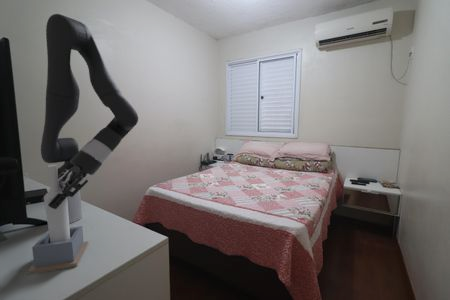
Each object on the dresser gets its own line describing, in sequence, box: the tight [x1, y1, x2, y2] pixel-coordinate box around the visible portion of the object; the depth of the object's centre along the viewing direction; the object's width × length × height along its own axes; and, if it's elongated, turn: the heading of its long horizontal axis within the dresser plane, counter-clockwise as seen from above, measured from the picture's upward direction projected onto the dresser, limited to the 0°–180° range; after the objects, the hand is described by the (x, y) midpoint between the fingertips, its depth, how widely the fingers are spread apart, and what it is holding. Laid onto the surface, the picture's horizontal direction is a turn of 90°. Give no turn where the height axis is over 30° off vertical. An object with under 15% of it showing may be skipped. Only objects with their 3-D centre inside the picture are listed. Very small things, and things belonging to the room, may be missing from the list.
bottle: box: [43, 164, 71, 243], centre depth 60 cm, size 5×5×25 cm
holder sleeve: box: [27, 226, 89, 275], centre depth 62 cm, size 11×11×7 cm
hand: (48, 204), depth 59 cm, fingers closed on bottle, 5 cm apart
